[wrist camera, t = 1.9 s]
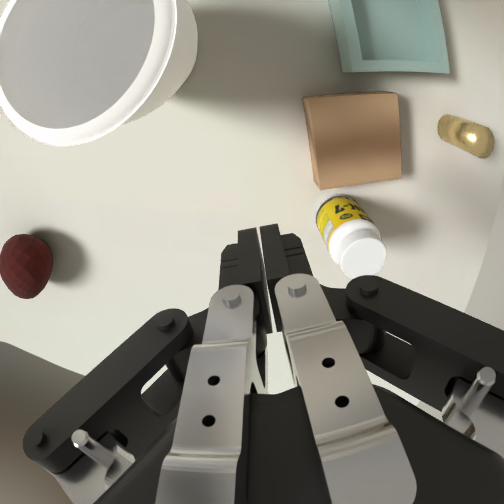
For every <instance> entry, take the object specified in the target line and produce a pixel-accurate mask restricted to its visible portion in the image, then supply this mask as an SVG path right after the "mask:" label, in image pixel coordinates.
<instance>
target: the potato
mask: <svg viewBox="0 0 504 504" xmlns="http://www.w3.org/2000/svg"><path fill="white" fill-rule="evenodd" d="M52 267H53V256H52V252H51V250H50V248H49V247H48V246H47V244H46V243H45V242H43V241H42V240H40V239H38V238H36V237H34V236H30V235H27V234H20V235H15V236H13V237H11V238H10V239H9V240H8V241H6V243H5V244H4V246H3V248H2V251H1V254H0V274H1V277H2V280H3V281H4V283H5V284H6V286H7V287H8V289H9V290H10V291H11V292H12V293H13V294H14V295H16V296H18V297H20V298H24V299H30V298H34V297H35V296H37V295H38V294H39V293H40V292H41V291H42V290H43V289H44V288H45V286H46V284H47V282H48V280H49V278H50V275H51V272H52Z"/></svg>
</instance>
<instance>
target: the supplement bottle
mask: <svg viewBox="0 0 504 504" xmlns="http://www.w3.org/2000/svg"><path fill="white" fill-rule="evenodd" d="M316 224H317V227H318V229H319V231H320V233H321V236H322V238H323V240H324V242H325V244H326V247H327V249H328V251H329V253H330V256H331V257H332V259H333V260H334V261H335V262H336V263H337V264H338V265H340V267H341V269H342V271H343V272H344V273H345V275H347V276H348V277H350V278H352V279H354V278H356V277H359V276H363V275H375V274H376V273H377V272H378V271H380V269H381V268H382V267H383V265H384V263H385V261H386V257H387V251H386V247H385V245H384V244H383V242H382V240H381V235H380V232H379V230H378V228H377V227H376V225H375V224H374V223H373V222H372V220H371V219H370V218H369V217H368V215H367V214H366V213H365V212H364V211H363V209H362V208H361V207H360V206H359V204H358V203H357V202H356V201H355V200H354V199H353V198H351V197H349V196H347V195H333V196H330V197H328V198H326V199H325V200H324V201H323V202H322V203H321V204H320V205H319V207H318V209H317V212H316Z"/></svg>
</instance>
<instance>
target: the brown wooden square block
mask: <svg viewBox="0 0 504 504" xmlns="http://www.w3.org/2000/svg"><path fill="white" fill-rule="evenodd" d="M302 99H303V105H304V111H305V118H306V124H307V131H308V138H309V146H310V153H311V161H312V169H313V177H314V181H315V183H316V184H317V186H318V187H319V189H320V190H324V189H331V188H337V187H344V186H351V185H358V184H365V183H372V182H379V181H387V180H394V179H401V138H400V120H399V107H398V95H397V93H393V92H387V91H375V92H356V93H342V94H330V95H320V96H311V97H303V98H302Z"/></svg>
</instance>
